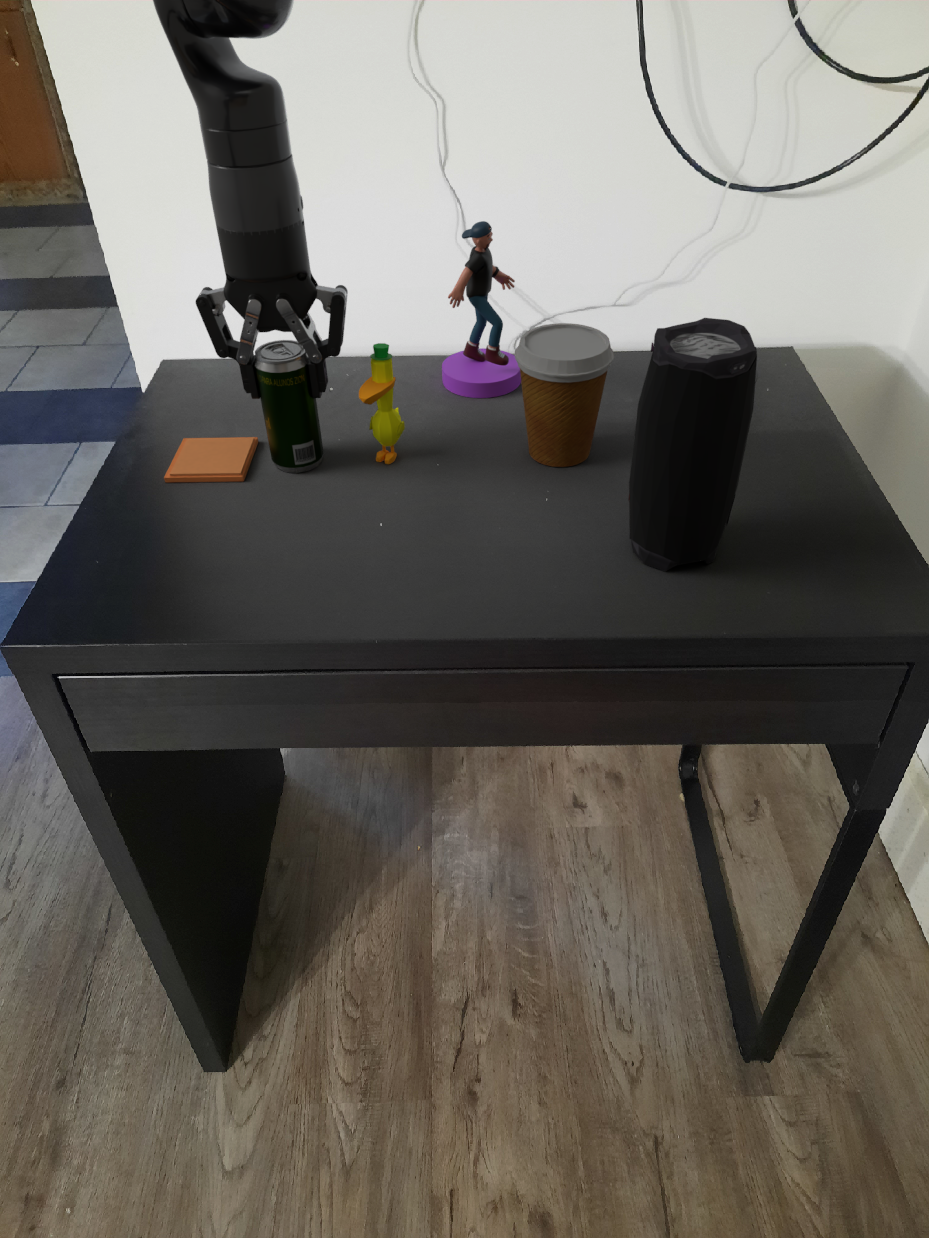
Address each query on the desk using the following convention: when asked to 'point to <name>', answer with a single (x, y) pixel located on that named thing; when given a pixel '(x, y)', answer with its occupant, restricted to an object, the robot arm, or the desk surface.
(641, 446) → the portable speaker
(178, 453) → the orange square panel
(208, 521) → the desk surface
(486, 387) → the figurine
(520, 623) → the desk surface
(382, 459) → the toy figure
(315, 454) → the beer can
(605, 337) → the disposable coffee cup
